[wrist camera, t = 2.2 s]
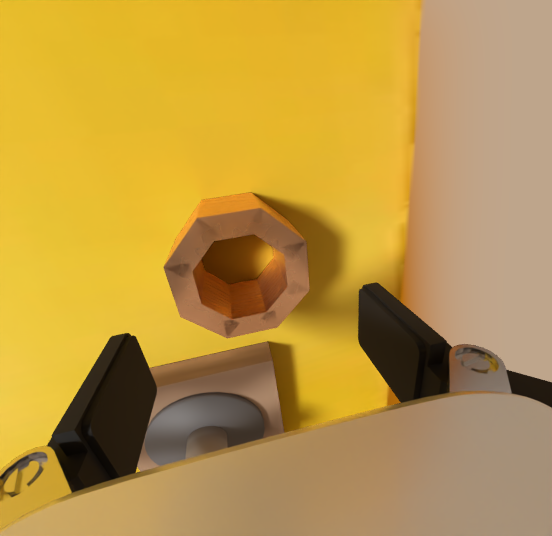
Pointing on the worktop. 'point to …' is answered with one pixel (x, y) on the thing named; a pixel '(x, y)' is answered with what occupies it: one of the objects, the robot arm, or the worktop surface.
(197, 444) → the shaft block
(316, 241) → the worktop surface
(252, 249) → the worktop surface
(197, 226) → the ring
